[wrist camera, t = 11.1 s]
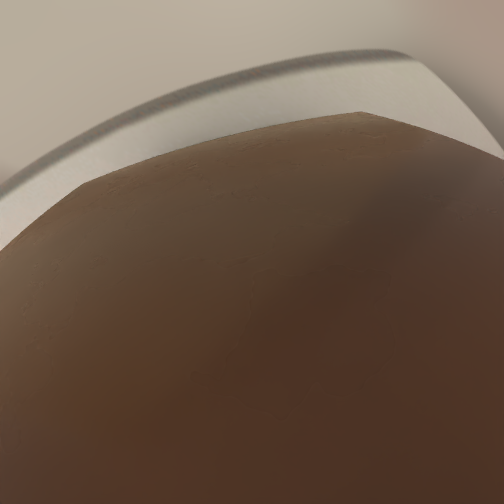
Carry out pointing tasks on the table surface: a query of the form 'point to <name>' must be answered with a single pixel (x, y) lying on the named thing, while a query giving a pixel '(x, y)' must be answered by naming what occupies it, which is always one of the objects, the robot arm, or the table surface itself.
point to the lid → (262, 325)
